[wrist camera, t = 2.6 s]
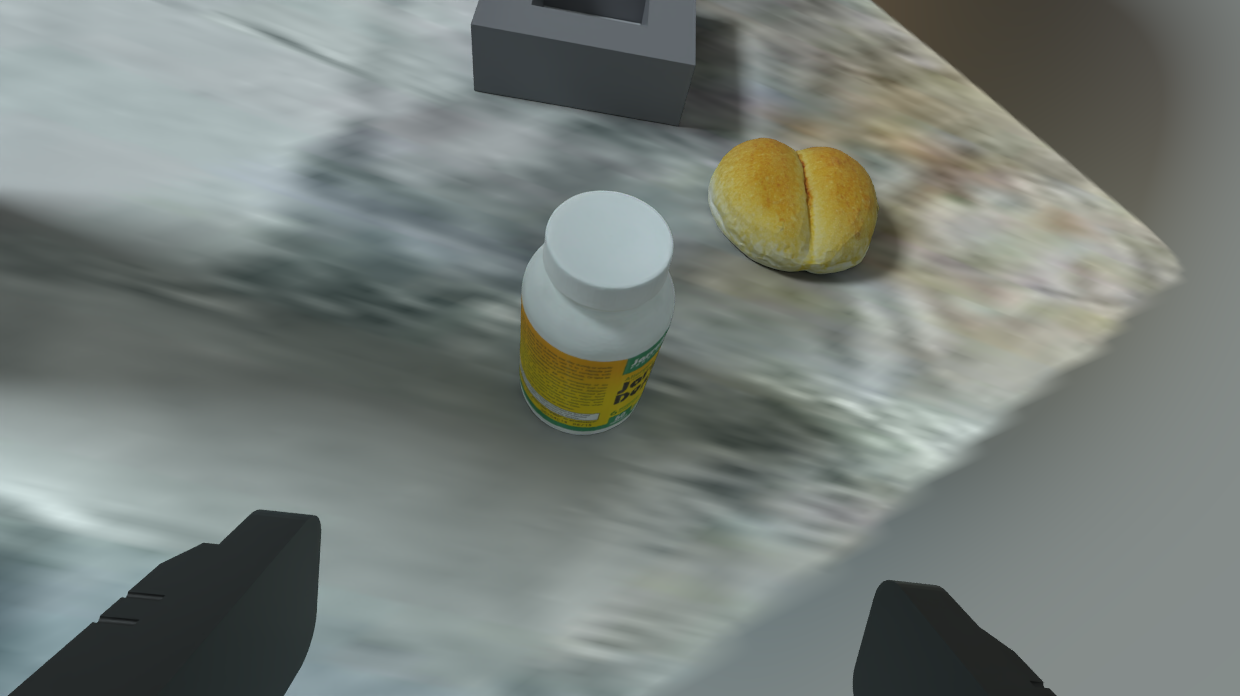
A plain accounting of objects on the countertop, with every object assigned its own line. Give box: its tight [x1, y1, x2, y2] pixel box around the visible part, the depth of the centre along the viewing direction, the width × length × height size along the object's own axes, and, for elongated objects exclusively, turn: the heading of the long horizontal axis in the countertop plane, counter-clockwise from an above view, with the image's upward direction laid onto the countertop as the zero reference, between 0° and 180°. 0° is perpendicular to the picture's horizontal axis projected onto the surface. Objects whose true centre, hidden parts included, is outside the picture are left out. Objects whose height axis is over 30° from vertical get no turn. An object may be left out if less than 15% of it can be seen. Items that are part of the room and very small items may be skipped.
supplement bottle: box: [519, 191, 675, 435], centre depth 23 cm, size 5×5×10 cm
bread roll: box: [708, 138, 879, 274], centre depth 33 cm, size 8×9×4 cm
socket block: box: [471, 0, 696, 126], centre depth 38 cm, size 12×12×5 cm
